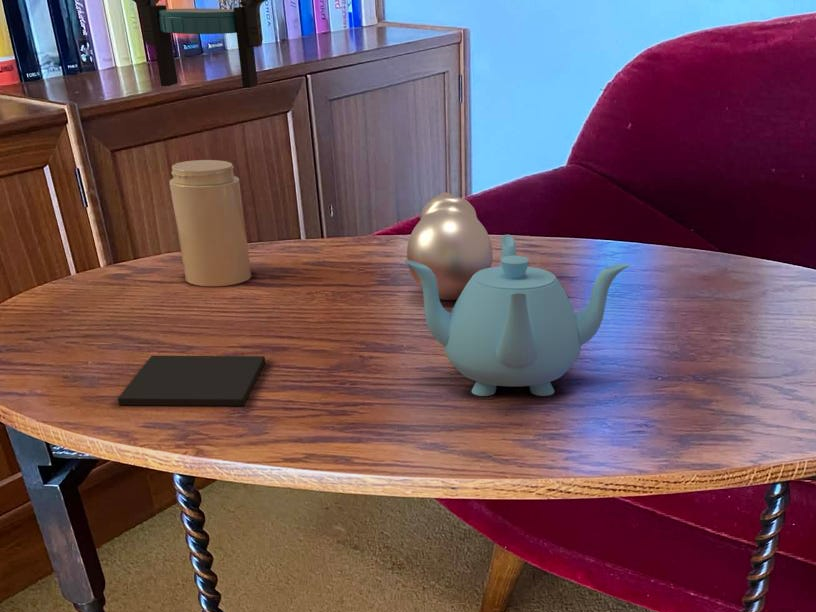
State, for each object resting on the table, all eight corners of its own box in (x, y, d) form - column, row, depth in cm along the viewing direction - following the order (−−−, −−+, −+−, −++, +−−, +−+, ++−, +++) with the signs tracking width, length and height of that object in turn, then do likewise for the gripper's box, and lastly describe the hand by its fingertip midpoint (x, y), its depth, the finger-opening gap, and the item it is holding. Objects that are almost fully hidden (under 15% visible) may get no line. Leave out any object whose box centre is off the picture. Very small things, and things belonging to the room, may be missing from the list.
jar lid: (251, 29, 95) (249, 9, 94) (229, 34, 89) (226, 12, 88) (177, 28, 95) (174, 7, 94) (149, 33, 89) (146, 11, 88)
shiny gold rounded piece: (501, 288, 105) (504, 189, 99) (480, 314, 97) (480, 208, 91) (422, 282, 106) (420, 183, 100) (395, 306, 99) (390, 202, 93)
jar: (178, 286, 104) (158, 171, 98) (194, 268, 110) (176, 158, 103) (244, 286, 104) (229, 171, 98) (256, 269, 110) (243, 159, 103)
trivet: (118, 405, 77) (117, 398, 77) (152, 361, 85) (151, 355, 85) (243, 406, 77) (242, 399, 77) (265, 362, 85) (264, 356, 85)
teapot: (405, 380, 82) (400, 257, 76) (511, 343, 90) (513, 229, 84) (515, 422, 75) (519, 290, 69) (620, 379, 83) (631, 256, 77)
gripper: (296, -219, 84) (319, 83, 97) (70, -219, 85) (123, 79, 98) (274, -232, 78) (302, 91, 91) (31, -232, 79) (94, 87, 92)
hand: (209, 85), depth 95 cm, fingers closed on jar lid, 7 cm apart
